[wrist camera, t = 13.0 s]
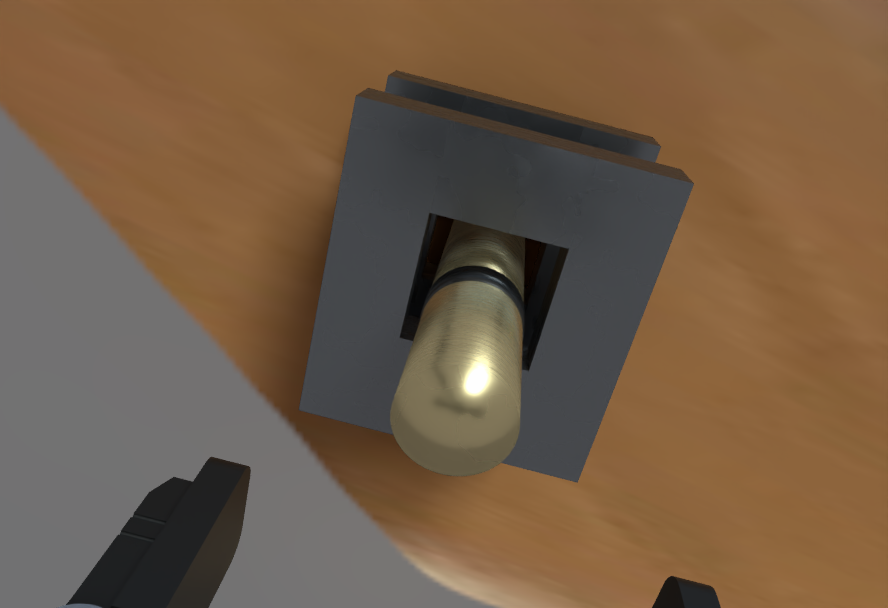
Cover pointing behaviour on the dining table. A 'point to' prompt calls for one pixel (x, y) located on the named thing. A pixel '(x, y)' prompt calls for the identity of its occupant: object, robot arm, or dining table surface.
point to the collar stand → (504, 209)
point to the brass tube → (466, 357)
